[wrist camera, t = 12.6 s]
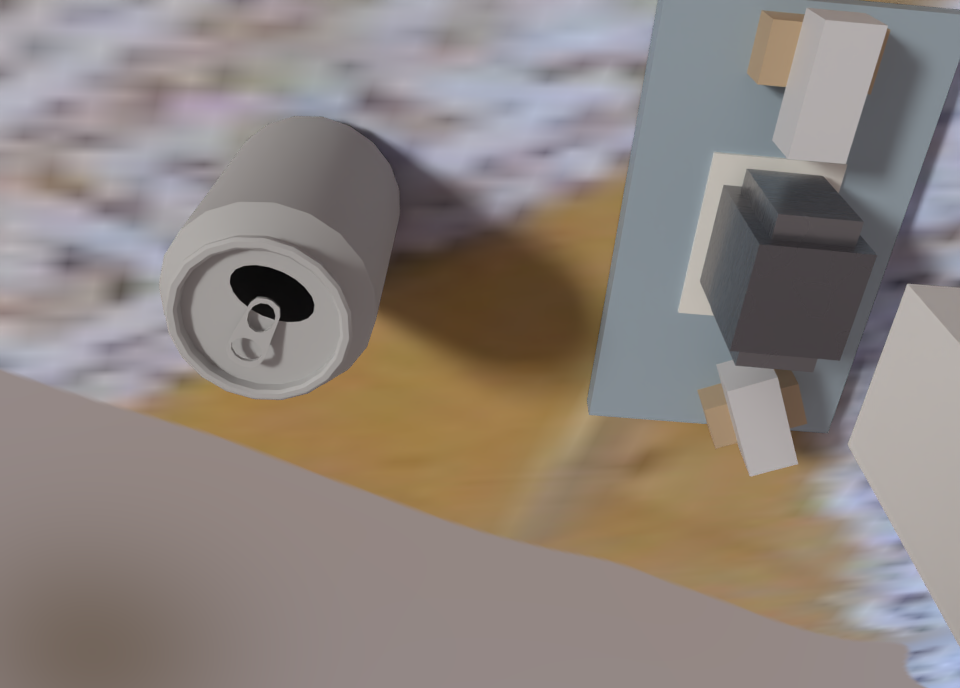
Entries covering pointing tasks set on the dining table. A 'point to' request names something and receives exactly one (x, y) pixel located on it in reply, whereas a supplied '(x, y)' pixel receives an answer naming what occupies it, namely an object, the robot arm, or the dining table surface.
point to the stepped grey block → (785, 270)
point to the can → (284, 260)
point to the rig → (723, 161)
